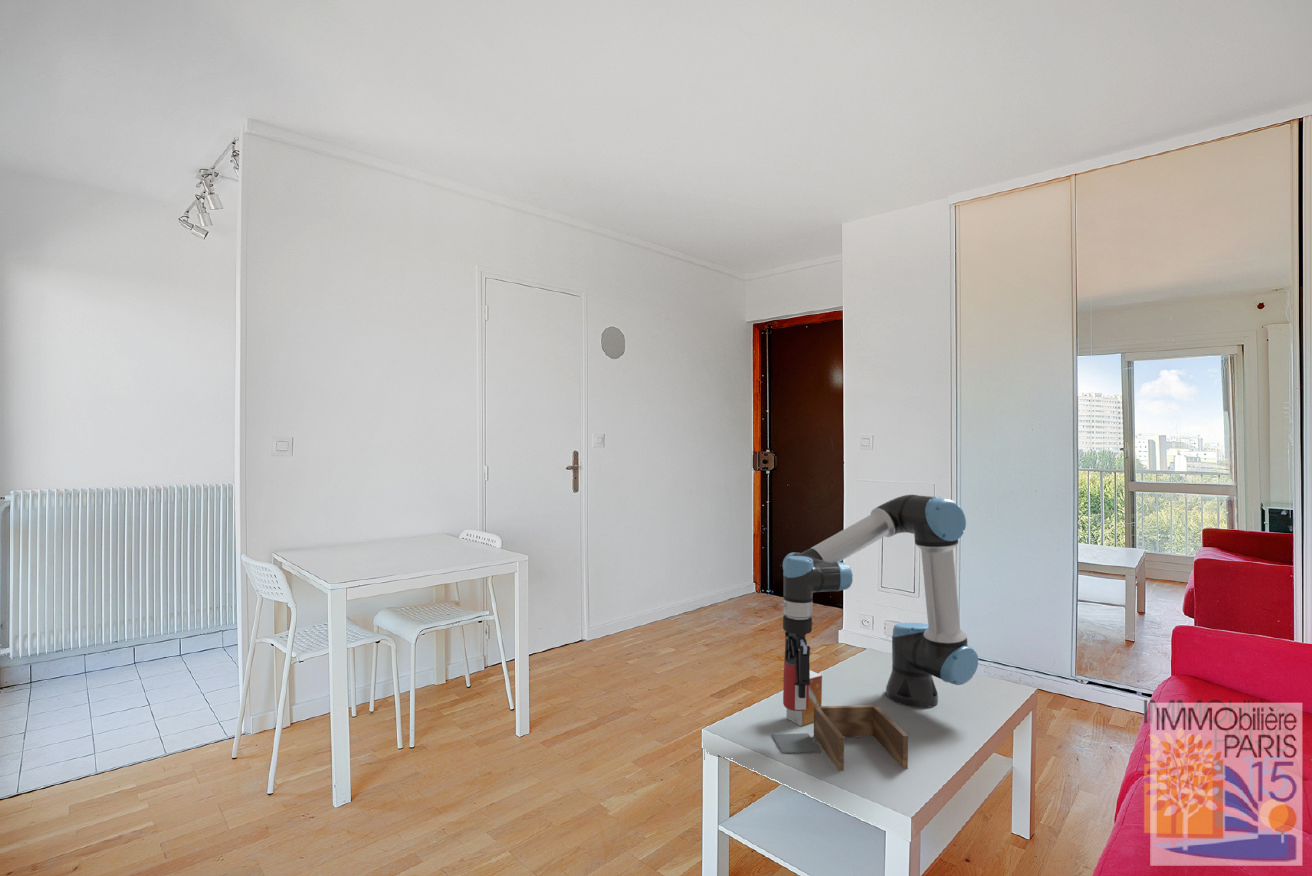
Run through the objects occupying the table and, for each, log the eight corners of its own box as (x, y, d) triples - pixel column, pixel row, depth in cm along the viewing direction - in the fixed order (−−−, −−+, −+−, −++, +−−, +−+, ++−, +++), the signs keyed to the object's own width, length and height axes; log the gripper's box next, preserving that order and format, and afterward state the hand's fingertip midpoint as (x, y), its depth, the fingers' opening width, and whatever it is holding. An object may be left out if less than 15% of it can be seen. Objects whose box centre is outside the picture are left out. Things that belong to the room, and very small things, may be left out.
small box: (802, 726, 177) (802, 680, 177) (785, 718, 182) (786, 673, 182) (822, 720, 181) (822, 674, 181) (805, 712, 187) (806, 668, 187)
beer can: (780, 702, 170) (780, 657, 170) (803, 701, 170) (804, 657, 170) (787, 712, 163) (788, 665, 163) (812, 712, 164) (812, 665, 164)
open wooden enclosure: (875, 734, 173) (875, 705, 173) (907, 768, 155) (908, 735, 155) (813, 736, 171) (814, 706, 171) (838, 770, 153) (839, 737, 153)
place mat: (808, 734, 172) (808, 733, 172) (820, 752, 162) (820, 751, 162) (772, 735, 171) (772, 734, 171) (782, 753, 161) (782, 752, 161)
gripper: (773, 606, 176) (772, 689, 176) (795, 626, 157) (793, 719, 157) (799, 606, 177) (798, 688, 177) (824, 626, 157) (822, 719, 157)
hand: (796, 703), depth 167 cm, fingers closed on beer can, 7 cm apart
